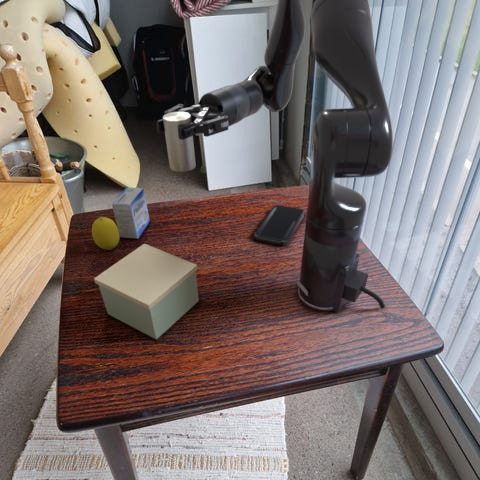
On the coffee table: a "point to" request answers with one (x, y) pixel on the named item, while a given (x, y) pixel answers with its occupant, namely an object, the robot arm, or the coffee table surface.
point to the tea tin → (178, 142)
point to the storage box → (149, 289)
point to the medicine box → (131, 212)
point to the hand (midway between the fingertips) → (168, 130)
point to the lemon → (105, 233)
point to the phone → (279, 225)
